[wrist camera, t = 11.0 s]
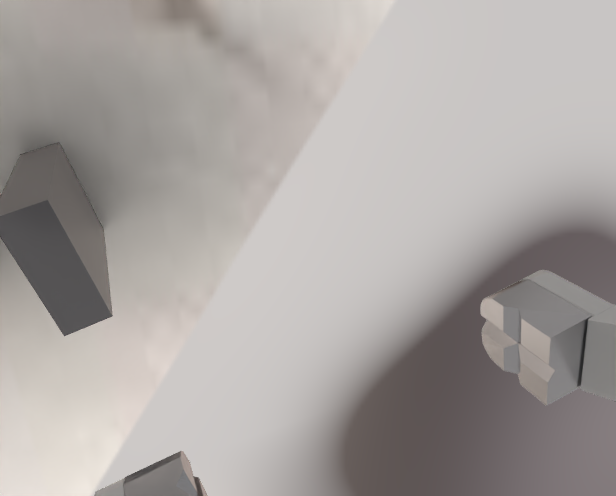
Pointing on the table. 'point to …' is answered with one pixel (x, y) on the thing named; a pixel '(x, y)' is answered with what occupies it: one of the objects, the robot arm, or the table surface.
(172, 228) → the table surface
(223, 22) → the table surface
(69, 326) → the tile
